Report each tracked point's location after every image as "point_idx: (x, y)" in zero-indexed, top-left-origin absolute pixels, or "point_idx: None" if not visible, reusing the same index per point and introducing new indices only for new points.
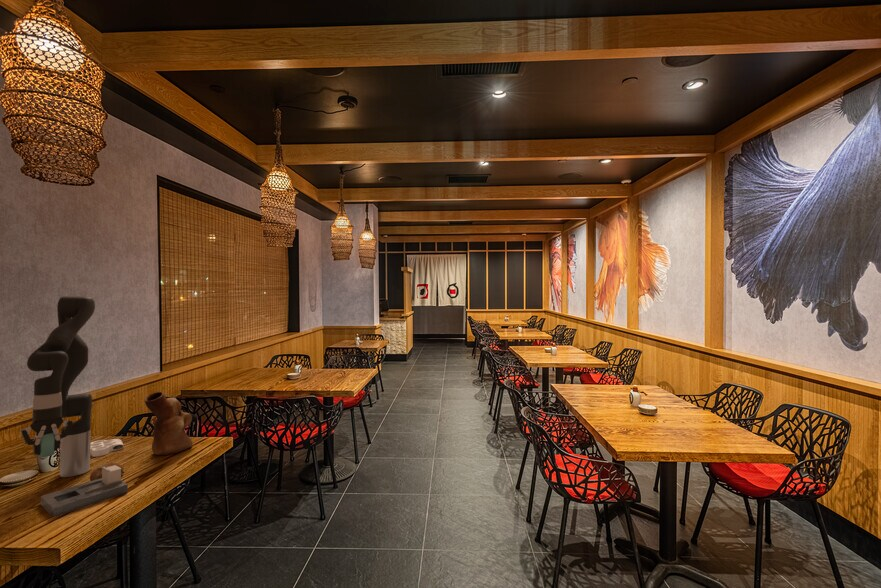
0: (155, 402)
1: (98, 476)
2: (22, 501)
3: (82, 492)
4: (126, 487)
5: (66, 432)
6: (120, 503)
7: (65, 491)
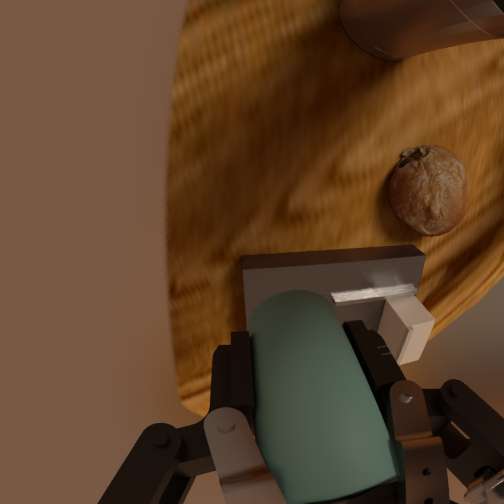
0: None
1: (408, 224)
2: (204, 165)
3: None
4: None
5: (445, 444)
6: None
7: None
